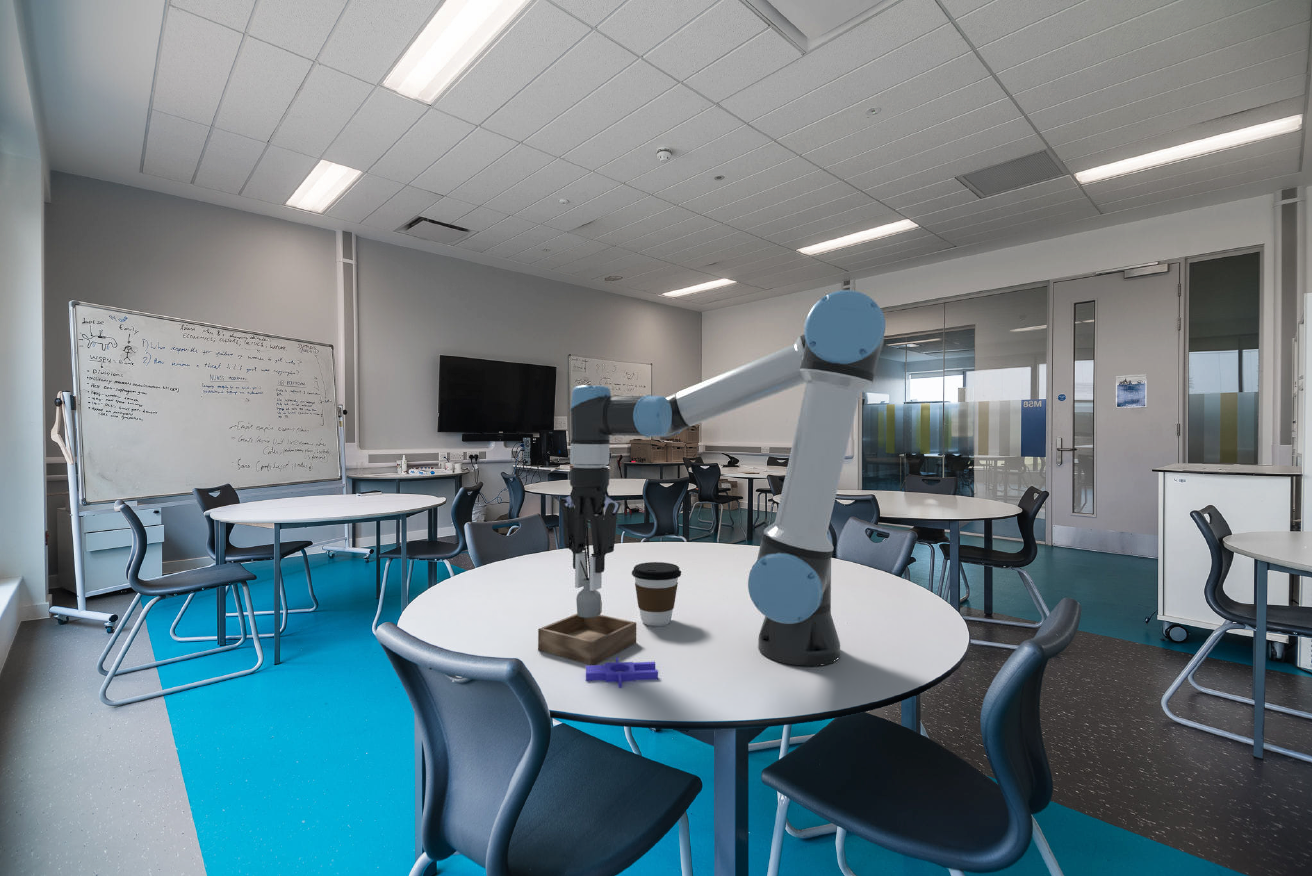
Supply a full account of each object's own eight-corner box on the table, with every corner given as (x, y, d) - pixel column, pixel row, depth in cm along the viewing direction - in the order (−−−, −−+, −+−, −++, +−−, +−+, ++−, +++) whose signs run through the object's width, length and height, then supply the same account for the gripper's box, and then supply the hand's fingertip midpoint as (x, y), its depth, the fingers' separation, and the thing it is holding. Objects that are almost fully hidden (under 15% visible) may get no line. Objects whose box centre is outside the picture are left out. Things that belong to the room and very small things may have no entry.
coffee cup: (672, 632, 119) (673, 574, 119) (623, 626, 123) (624, 570, 123) (686, 616, 130) (687, 563, 130) (641, 611, 133) (641, 560, 133)
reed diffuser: (600, 624, 106) (597, 516, 106) (563, 626, 106) (560, 518, 106) (604, 608, 116) (601, 510, 117) (570, 610, 116) (567, 511, 116)
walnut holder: (636, 642, 113) (636, 622, 113) (594, 665, 102) (594, 642, 102) (583, 630, 120) (583, 611, 120) (538, 650, 109) (538, 629, 109)
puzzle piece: (660, 688, 94) (660, 678, 94) (585, 692, 92) (586, 681, 92) (652, 664, 103) (653, 655, 103) (585, 667, 102) (585, 658, 102)
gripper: (634, 467, 110) (633, 589, 110) (570, 464, 118) (569, 577, 118) (611, 468, 103) (609, 599, 103) (545, 465, 112) (544, 585, 112)
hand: (588, 587), depth 111 cm, fingers closed on reed diffuser, 3 cm apart
